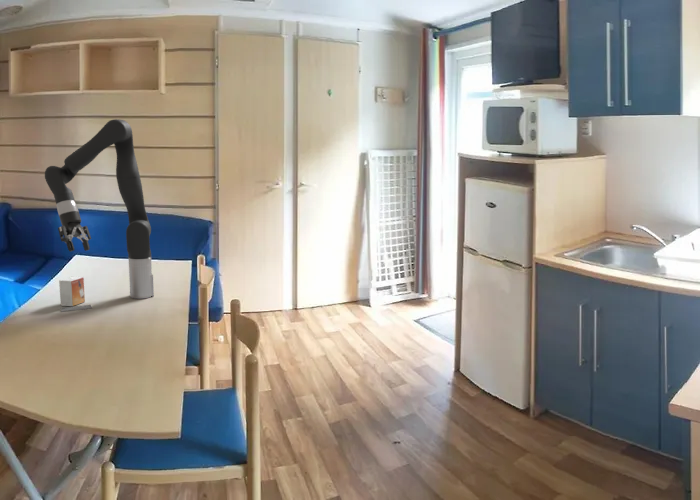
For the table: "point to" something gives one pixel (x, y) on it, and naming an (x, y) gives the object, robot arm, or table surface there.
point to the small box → (72, 291)
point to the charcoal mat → (75, 308)
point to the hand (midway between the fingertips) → (79, 250)
